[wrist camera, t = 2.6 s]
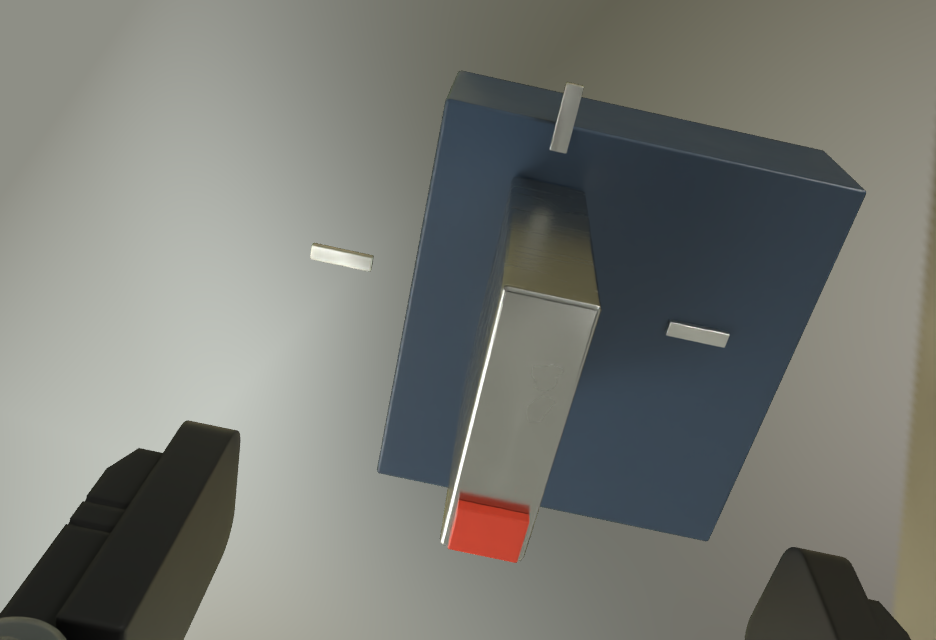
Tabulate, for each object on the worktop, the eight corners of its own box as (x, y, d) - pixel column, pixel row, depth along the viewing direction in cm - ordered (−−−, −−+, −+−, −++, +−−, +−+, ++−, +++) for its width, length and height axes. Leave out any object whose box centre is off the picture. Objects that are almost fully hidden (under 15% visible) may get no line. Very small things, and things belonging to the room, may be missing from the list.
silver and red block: (512, 174, 18) (502, 292, 12) (586, 189, 18) (604, 314, 13) (463, 386, 20) (437, 555, 15) (527, 400, 20) (522, 573, 15)
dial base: (366, 10, 19) (336, 32, 16) (839, 115, 19) (889, 154, 17) (315, 392, 24) (286, 459, 21) (690, 472, 25) (709, 547, 22)
